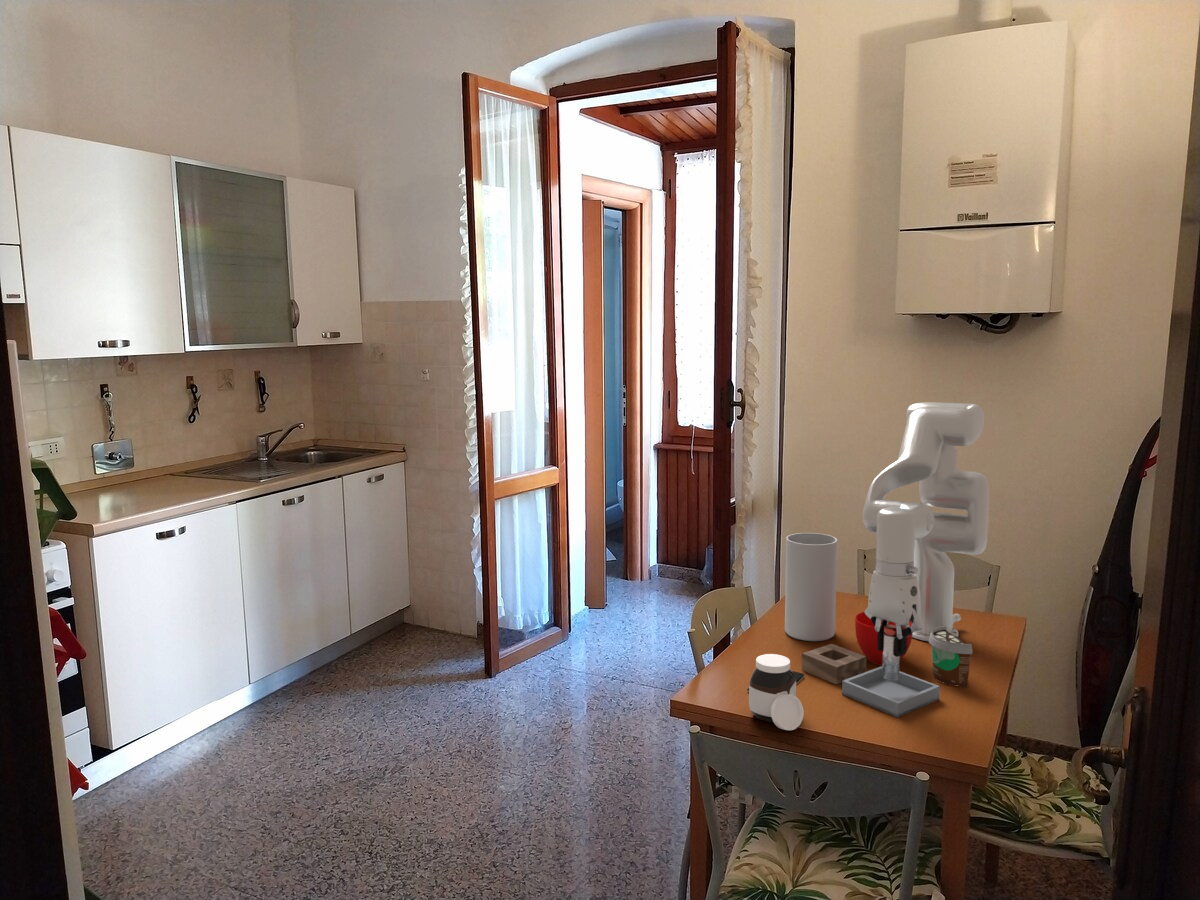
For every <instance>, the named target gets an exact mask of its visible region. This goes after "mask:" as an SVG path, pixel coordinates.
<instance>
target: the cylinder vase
mask: <svg viewBox="0 0 1200 900" xmlns="http://www.w3.org/2000/svg"><path fill="white" fill-rule="evenodd" d="M837 557H838V538H836V537H835V536H832V535H830V534H824V533H817V532H800V533H799V532H798V533H793V534H789V535H786V540H785V593H784V595H785V596H784V597H785V598H784V599H785V601H784V604H785V605H784V612H785V613H784V631H785V633H786V634H787V635H788V636H789V637H791V638H793V639H796V640H799V641H805V642H821V641H827V640H830V639H831V638H833V637H834V636H835V633H836V610H837V609H836V608H837V607H836V604H837V603H836V602H837V600H836V599H837V598H836V597H837V596H836V595H837V565H838V564H837V563H838V562H837V559H838V558H837Z"/></svg>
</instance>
